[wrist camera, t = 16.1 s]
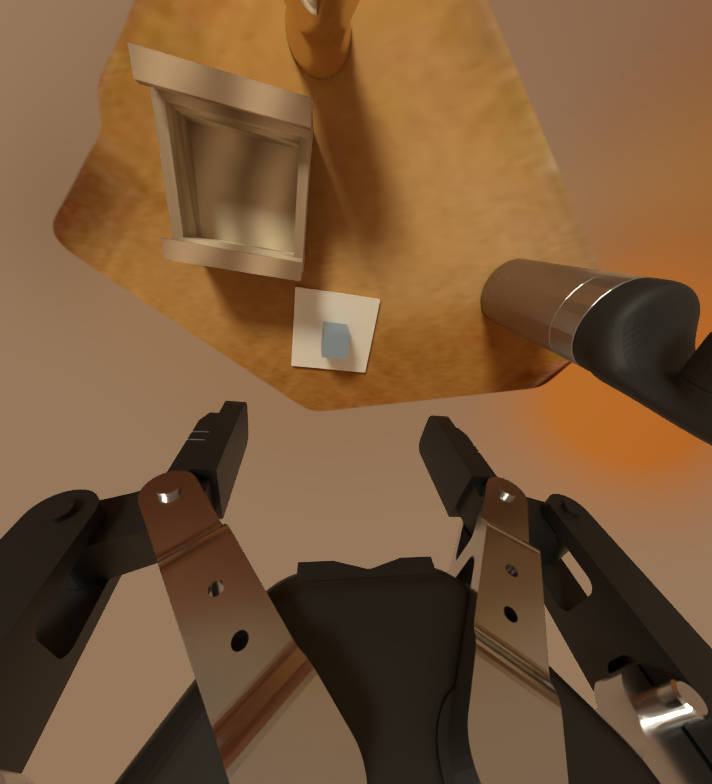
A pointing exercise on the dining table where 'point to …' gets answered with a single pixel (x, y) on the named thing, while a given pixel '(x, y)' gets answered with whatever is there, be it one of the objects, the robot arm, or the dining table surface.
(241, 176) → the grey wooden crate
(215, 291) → the dining table surface
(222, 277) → the dining table surface
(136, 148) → the dining table surface
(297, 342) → the cover plate
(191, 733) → the robot arm
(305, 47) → the beer glass
